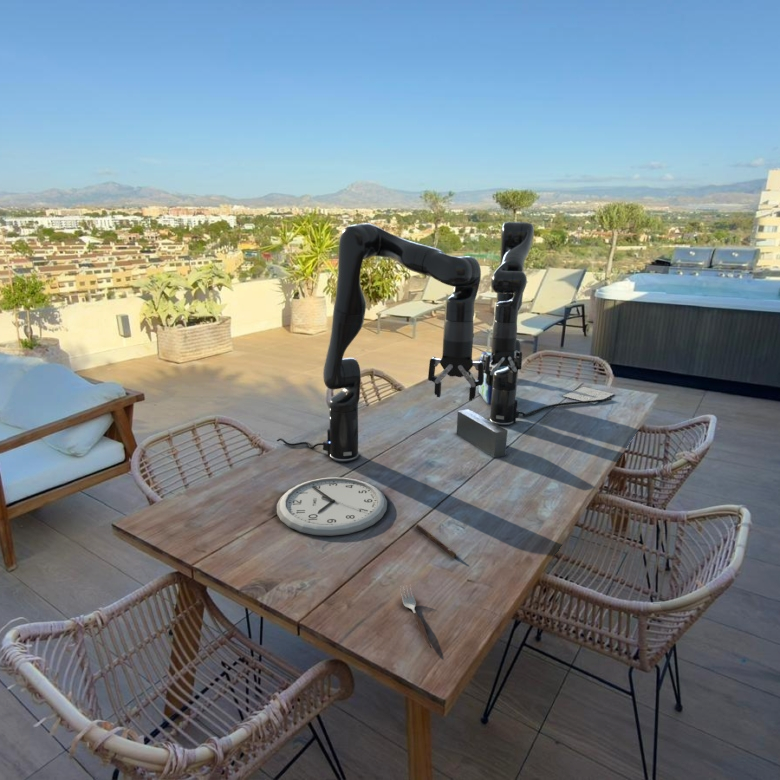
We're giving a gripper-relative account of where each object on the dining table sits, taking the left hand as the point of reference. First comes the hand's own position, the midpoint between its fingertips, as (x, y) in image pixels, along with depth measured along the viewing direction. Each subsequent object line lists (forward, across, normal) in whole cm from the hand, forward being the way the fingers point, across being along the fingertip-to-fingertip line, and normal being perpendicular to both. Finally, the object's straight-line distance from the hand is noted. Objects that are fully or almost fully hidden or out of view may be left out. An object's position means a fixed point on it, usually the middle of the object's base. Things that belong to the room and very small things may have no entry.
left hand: (454, 398), depth 138 cm
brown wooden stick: (+30, 0, -22) cm, 37 cm away
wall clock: (+30, -30, -12) cm, 44 cm away
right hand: (+6, +10, +36) cm, 38 cm away
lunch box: (+30, +3, +96) cm, 100 cm away
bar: (+30, +4, +43) cm, 53 cm away
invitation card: (+30, +46, +116) cm, 128 cm away
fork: (+30, +2, -48) cm, 57 cm away
